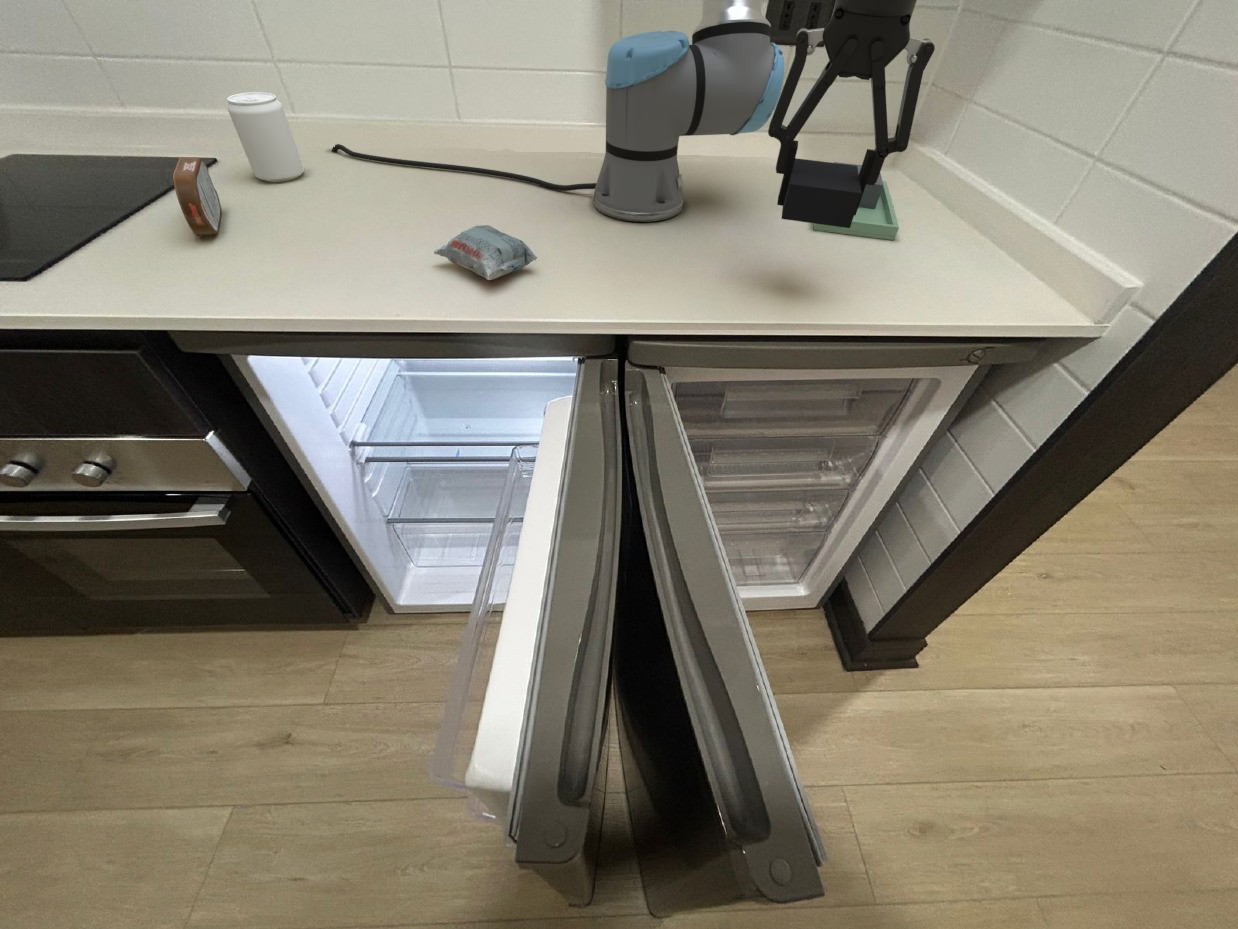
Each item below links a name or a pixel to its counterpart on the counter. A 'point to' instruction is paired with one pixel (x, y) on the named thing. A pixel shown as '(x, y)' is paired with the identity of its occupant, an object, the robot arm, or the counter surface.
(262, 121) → the beverage can
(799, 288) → the counter surface
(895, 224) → the green tray
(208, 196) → the tin
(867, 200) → the pad
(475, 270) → the packaged food
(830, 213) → the loose pad
